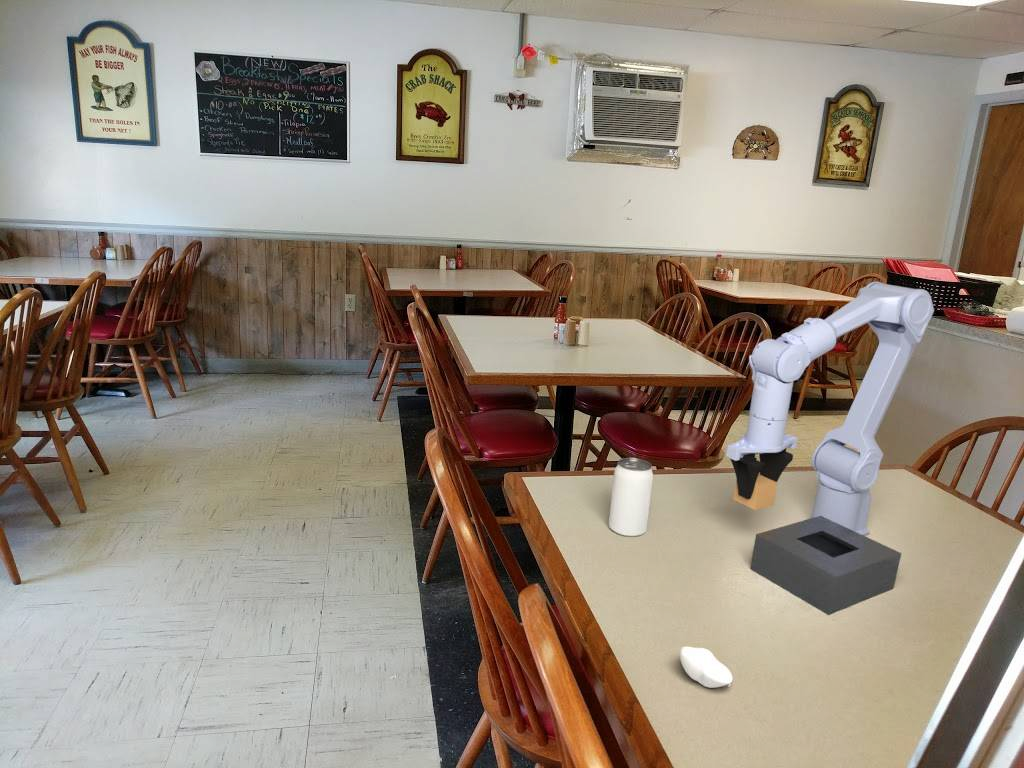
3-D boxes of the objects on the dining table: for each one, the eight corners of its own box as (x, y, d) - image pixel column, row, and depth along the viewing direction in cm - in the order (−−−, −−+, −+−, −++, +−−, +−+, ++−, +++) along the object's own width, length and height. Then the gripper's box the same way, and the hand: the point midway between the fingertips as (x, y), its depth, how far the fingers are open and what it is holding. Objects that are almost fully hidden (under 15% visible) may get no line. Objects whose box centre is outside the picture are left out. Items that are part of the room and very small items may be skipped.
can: (645, 540, 121) (654, 473, 118) (606, 534, 122) (614, 468, 119) (646, 523, 127) (654, 459, 124) (609, 518, 128) (616, 454, 125)
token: (751, 494, 122) (755, 472, 121) (773, 505, 119) (777, 482, 117) (733, 499, 120) (736, 476, 119) (754, 510, 116) (758, 487, 115)
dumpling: (666, 675, 87) (670, 647, 86) (689, 658, 91) (693, 630, 90) (718, 706, 83) (723, 676, 81) (740, 686, 86) (745, 658, 85)
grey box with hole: (814, 548, 122) (820, 515, 120) (893, 588, 111) (901, 553, 109) (750, 568, 114) (756, 534, 112) (828, 615, 102) (836, 577, 101)
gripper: (777, 403, 122) (765, 478, 126) (717, 412, 115) (705, 491, 118) (813, 416, 116) (799, 494, 120) (752, 426, 109) (738, 509, 113)
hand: (755, 494), depth 119 cm, fingers closed on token, 4 cm apart
